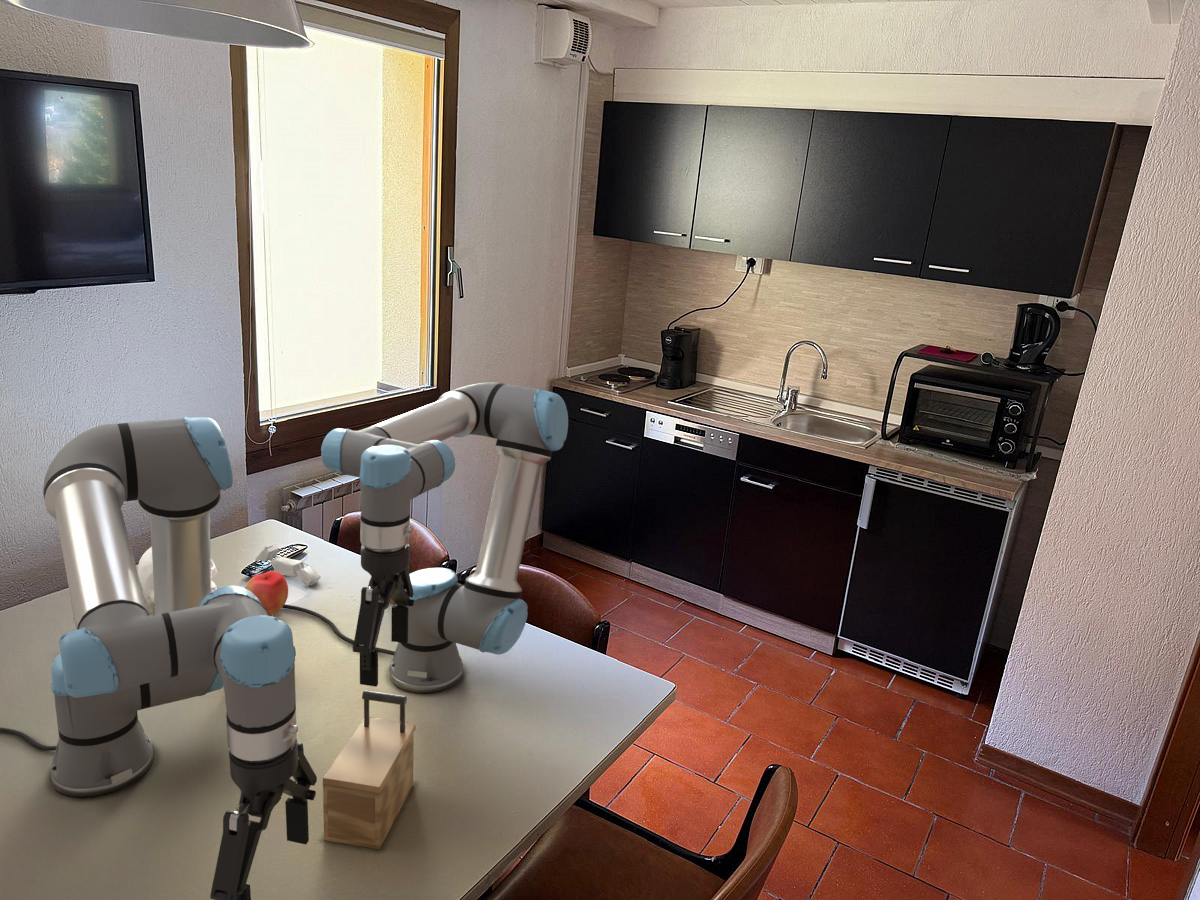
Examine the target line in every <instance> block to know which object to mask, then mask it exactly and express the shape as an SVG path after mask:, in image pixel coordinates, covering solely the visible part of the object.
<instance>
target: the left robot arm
mask: <svg viewBox="0 0 1200 900" xmlns="http://www.w3.org/2000/svg"><path fill="white" fill-rule="evenodd" d="M230 459H231V458H230V455H229V451H228V447H227V443H226V440H225V437H224V434H223V432H222V430H221V427H220V426H219V424H218V423H217V421H215V420H214V419H213V418H211V417H208V416H207V417H206V416H204V417H188V416H183V417H181V418H171V419H158V420H145V421H131V422H130V421H129V422H121V423H120V422H119V423H118V422H114V423H113V422H112V423H106V424H101V425H98V426H95V427H94V426H93V427H92V428H90V429H89V428H88V429H87V430H85V431H82V432H81V433H79V434H78V435H76V436H75V437H74V438H73V439H70V441H68V442H67V443H66V444H65V445H64V446H63V447H62V448H61V449H60V450H59V451H58V452H57V454H56V455H55V457H54V458H53V459H52V461H51V462H50V464H49V466H48V468H47V471H46V473H45V476H44V478H43V479H44V480H43V487H42V491H43V492H42V493H43V501H44V506H45V508H46V511H47V513H48V514H49V515H50V516H51V517H52V518H53V519H54V520H55V521H57V523H56V524H57V529H58V534H59V535H58V536H59V540H60V546H61V551H62V557H63V563H64V568H65V574H66V579H67V580H66V581H67V585H68V591H69V597H70V602H71V607H72V614H73V619H74V620H73V621H74V625H75V630H71V631H68V632H65V633H63V634H62V635H61V636H60V637H59V641H58V642H59V654H58V655H56V657H55V659H54V661H53V662H52V664H51V685H50V689H51V692H52V694H53V696H54V706H55V714H56V724H57V729H58V730H57V731H58V741H57V744H56V745H45V744H42V743H39V742H38V741H37V740H35V739H34V738H32V737H31V736H29V735H28V734H26V733H25V732H22V731H19V730H16V729H12V728H7V727H0V733H4V734H9V735H13V736H17V737H20V738H21V739H23V740H24V741H26V742H28V744H30V745H31V746H33V747H35V748H36V749H39V750H41V751H47V752H49V751H52V752H53V751H54V754H53V757H52V762H51V765H50V780H51V784H52V786H53V787H54V789H55V790H56V791H57V792H58V793H61V794H63V795H66V796H70V797H76V798H88V797H89V798H91V797H97V796H102V795H107V794H110V793H113V792H116V791H119V790H121V789H124V788H126V787H127V786H129V785H131V784H133V783H135V782H137V781H138V780H139V779H140V778H142V777H143V776H144V775H145V774H146V772H148V770H149V769H150V767H151V766H152V765H153V762H154V747H153V744H152V741H151V740H150V738H149V736H148V735H147V734H146V733H145V730H144V728H143V726H142V724H141V722H140V721H139V716H138V711H141V710H146V709H149V708H153V707H157V706H162V705H165V704H171V703H175V702H179V701H184V700H187V699H192V698H197V697H202V696H205V695H207V694H209V693H213V692H215V691H220V690H221V689H222V688H223V692H224V700H225V710H226V712H225V713H226V717H225V718H226V736H227V739H226V740H227V748H228V760H229V774H230V778H231V780H232V782H233V783H234V784H235V785H236V786H237V788H238V789H239V791H240V797H239V802H238V807H236V808H235V810H234V811H233V810H226V811H225V812H224V815H223V818H222V834H221V840H220V845H219V849H218V850H219V851H218V855H217V860H216V864H215V870H214V875H213V881H212V885H211V890H210V895H209V898H210V900H252V893H251V884H247V882H248V879H249V875H250V872H251V868H252V865H253V861H254V859H255V855H256V851H257V848H258V844H259V841H260V838H261V834H262V832H263V831H265V830H266V829H267V828H268V825H269V821H270V819H271V814H272V811H273V810H274V808H275V807H276V805H278V803H280V801H281V799H282V795H283V794H285V795H288V796H290V797H287V799H286V800H285V803H284V804H285V824H286V825H285V827H286V841H288V842H293V843H297V844H301V845H306V846H307V844H308V843H309V841H310V837H309V836H310V834H309V831H310V830H309V807H308V804H309V803H308V801H314V800H315V798H316V795H317V791H316V790H313V789H310V788H311V786H313V787H314V786H316V784H317V781H318V777H317V775H316V773H315V771H314V769H313V768H312V766H311V764H310V762H309V761H308V759H307V757H306V755H305V751H304V744H303V743H302V742H298V738H297V735H298V731H299V726H298V725H297V701H296V699H297V697H296V666H295V663H296V656H297V652H296V646H295V645H294V637H293V631H292V628H291V627H290V625H289V624H288V623H287V622H286V621H285V620H282V619H281V620H279V618H277V617H275V616H274V615H273V616H268V612H267V611H266V609H265V607H264V606H263V605H262V604H261V602H260V601H259V600H258V598H257V597H256V596H255V595H254V594H253V593H252V592H251V591H249V590H247V589H245V587H244V586H238V585H226V586H221V587H218V589H216V590H215V591H213V592H212V593H211V558H212V557H211V511H213V510H214V509H215V508H216V507H217V506H219V503H220V502H221V491H226V490H229V489H231V488H232V487H233V483H234V475H233V470H232V463H231V460H230ZM132 501H133V502H134V501H138V506H139V507H140V509H141V510H142V511H143V512H144V513H146V514H148V515H149V520H150V538H151V539H150V541H151V547H152V562H153V583H154V602H153V604H154V614H153V615H149V611H148V607H147V603H146V599H145V594H144V592H143V591H144V590H143V587H142V586H141V583H140V579H139V576H138V567H137V564H136V560H135V557H134V553H133V549H132V544H131V541H130V538H129V534H128V530H127V526H126V523H125V518H124V515H123V510H122V507H123V505H124V503H125V502H132ZM291 778H293V779H291ZM250 816H251V817H256V818H260V820H259V822H258V821H256V820H250Z"/></svg>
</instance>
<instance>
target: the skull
mask: <svg viewBox="0 0 1200 900" xmlns="http://www.w3.org/2000/svg"><path fill="white" fill-rule="evenodd" d="M137 572H138V576H139V579H140V583H141V587H142V590H143V591H144V592H145V593H146V594H147V595H148V597H149V598H150V599H151V601H152V602H153V603H154V583H153V562H152V546H150V547H149V548H148V549H147V550H146V551H145V552H144V553H143V554H142V556H141V557H140V559H139V561H138V565H137ZM217 576H218V570H217V566H216V564H215V562H214V559H213V558H212V557H211V593H212V592H213V591H215V590H216V589H218V588H219V587H218V586H217V584H216V582H214V581H213V579H214V578H215V577H217Z"/></svg>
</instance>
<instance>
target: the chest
mask: <svg viewBox="0 0 1200 900" xmlns="http://www.w3.org/2000/svg"><path fill="white" fill-rule="evenodd" d="M414 746H415V733H414V734H413V735H412V737H411V739H410V741H409V742H408V744H407V746H406V748H405V749H404V751H403V753H402V755H401V756H400V758H399V760H398V762H397V763H396V765H395V767H394V769H393V770H392V772H391V774H390V776H389V778H388V779H387V781H386V783H385V785H384V786H383V788H382V790H381V792H380V793H374V792H368V791H361V790H355V789H349V788H343V787H336V786H330V785H324V784H323V783H322V806H323V807H322V808H323V809H322V810H323V811H322V813H323V840H324V841H326V842H333V843H339V844H345V845H350V846H356V847H363V848H367V849H368V848H369V849H373V850H374V849H375V850H380V849H381V847H382V845H383V844H384V842H385V840H386V838H387V836H388V834H389V832H390V830H391V828H392V826H393V824H394V823H395V820H396V818H397V816H398V815H399V813H400V811H401V808H402V807H403V805H404V803H405V801H406V799H407V797H408V796H409V793H410V792H411V790H412V788H413V786H414V754H415V753H414V751H415V750H414Z"/></svg>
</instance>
